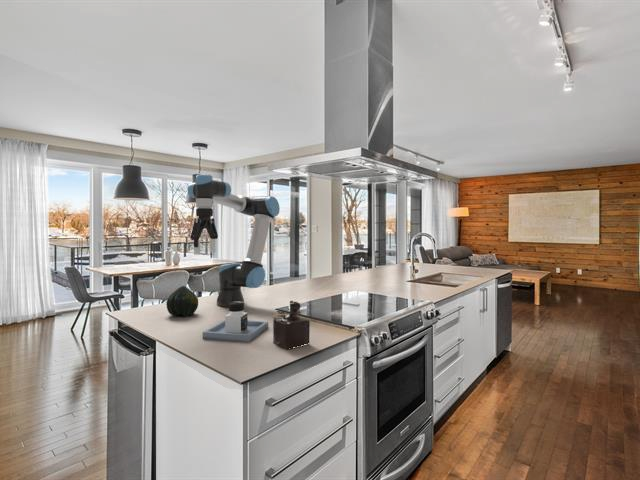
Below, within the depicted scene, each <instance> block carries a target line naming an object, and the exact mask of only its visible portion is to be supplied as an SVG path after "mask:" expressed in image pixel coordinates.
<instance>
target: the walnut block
mask: <svg viewBox="0 0 640 480" xmlns="http://www.w3.org/2000/svg"><path fill="white" fill-rule="evenodd" d="M287 314H288V313H275V314H274V315H273V319H276V318H281V317H283V315H284V316H285V315H287Z"/></svg>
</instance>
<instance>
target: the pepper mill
mask: <svg viewBox="0 0 640 480" xmlns="http://www.w3.org/2000/svg"><path fill="white" fill-rule="evenodd" d="M289 308H290V312H289V313H286V314H287V315H285V316H284V315H283V317H281V318H276V319H274V318H273V320H272V321H273V324H272V326H273V329H272V330H273V333H272V335H273V337H272V340H273V341H272V342H273V343H272V344H274V343H275V344H274V345H276V346H277V347H280V346H281V347H280V348H282V347H284V348H283V349H285V348H286V349H285V350H290V349H289V348H293V347H297V346H301V345H304V344H308V343H309V344H310V334H311V333H310V325H311V324H310V322H311V321H310V320H309V319H307V318H304V317H302V316H299V315H301V310H300V309H301V304H300V302H298V301H294V300H290V301H289Z"/></svg>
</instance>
